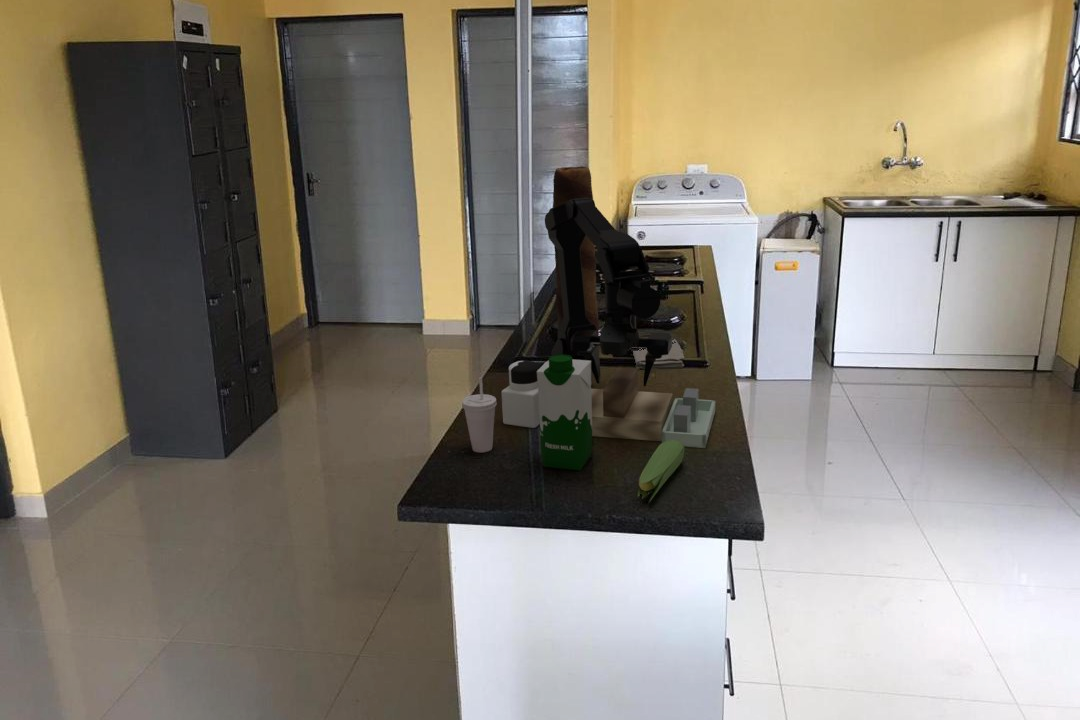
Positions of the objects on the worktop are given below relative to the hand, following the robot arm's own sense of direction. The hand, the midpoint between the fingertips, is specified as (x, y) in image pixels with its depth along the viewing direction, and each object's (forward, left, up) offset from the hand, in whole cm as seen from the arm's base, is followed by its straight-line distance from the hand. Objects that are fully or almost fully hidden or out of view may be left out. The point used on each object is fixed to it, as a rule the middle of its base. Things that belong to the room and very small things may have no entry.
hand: (621, 384), depth 168 cm
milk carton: (-6, -19, -8) cm, 22 cm away
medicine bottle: (-19, -2, -8) cm, 21 cm away
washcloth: (0, +42, -9) cm, 43 cm away
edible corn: (+11, -24, -9) cm, 28 cm away
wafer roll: (-20, +45, -8) cm, 50 cm away
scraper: (0, 0, -4) cm, 4 cm away
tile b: (+11, -4, -5) cm, 13 cm away
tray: (+13, 0, -8) cm, 15 cm away
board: (0, 0, -8) cm, 8 cm away
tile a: (+11, +5, -5) cm, 14 cm away
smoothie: (-23, -17, -8) cm, 30 cm away
